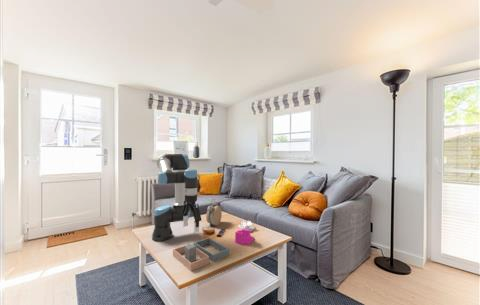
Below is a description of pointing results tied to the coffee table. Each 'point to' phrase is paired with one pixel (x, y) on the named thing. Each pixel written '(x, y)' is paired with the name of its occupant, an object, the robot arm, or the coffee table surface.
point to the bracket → (243, 236)
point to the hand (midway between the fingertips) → (190, 229)
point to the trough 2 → (213, 243)
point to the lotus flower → (246, 225)
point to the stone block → (190, 252)
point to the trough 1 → (185, 262)
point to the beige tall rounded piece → (214, 214)
